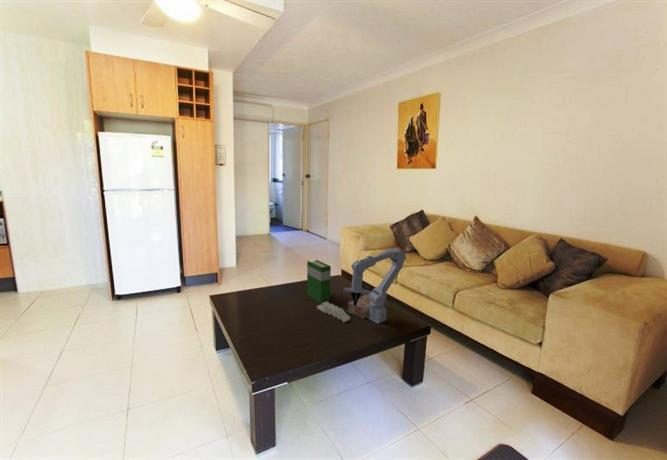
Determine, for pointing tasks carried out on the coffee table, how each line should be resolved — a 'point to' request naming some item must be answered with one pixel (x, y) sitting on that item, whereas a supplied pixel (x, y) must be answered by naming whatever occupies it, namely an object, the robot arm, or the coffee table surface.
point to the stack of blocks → (360, 307)
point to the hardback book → (318, 281)
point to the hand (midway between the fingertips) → (355, 305)
